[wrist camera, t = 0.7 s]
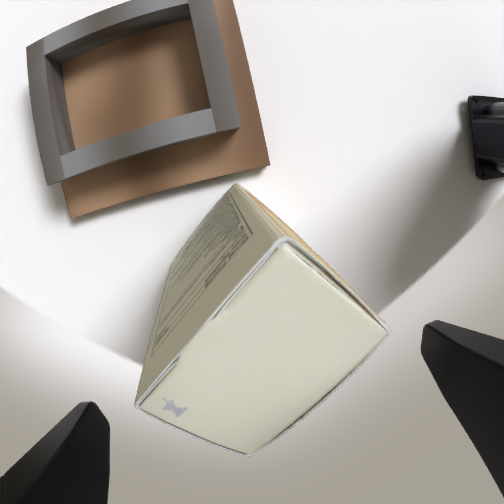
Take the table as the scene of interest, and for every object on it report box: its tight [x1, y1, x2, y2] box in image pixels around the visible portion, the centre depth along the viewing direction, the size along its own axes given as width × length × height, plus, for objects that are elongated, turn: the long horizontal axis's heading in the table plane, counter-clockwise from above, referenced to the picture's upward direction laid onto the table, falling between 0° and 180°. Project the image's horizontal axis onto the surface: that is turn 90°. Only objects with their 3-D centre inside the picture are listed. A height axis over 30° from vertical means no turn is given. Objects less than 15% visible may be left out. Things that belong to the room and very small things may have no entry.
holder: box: [26, 0, 270, 219], centre depth 14 cm, size 12×12×3 cm
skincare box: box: [134, 184, 391, 457], centre depth 13 cm, size 6×4×12 cm
